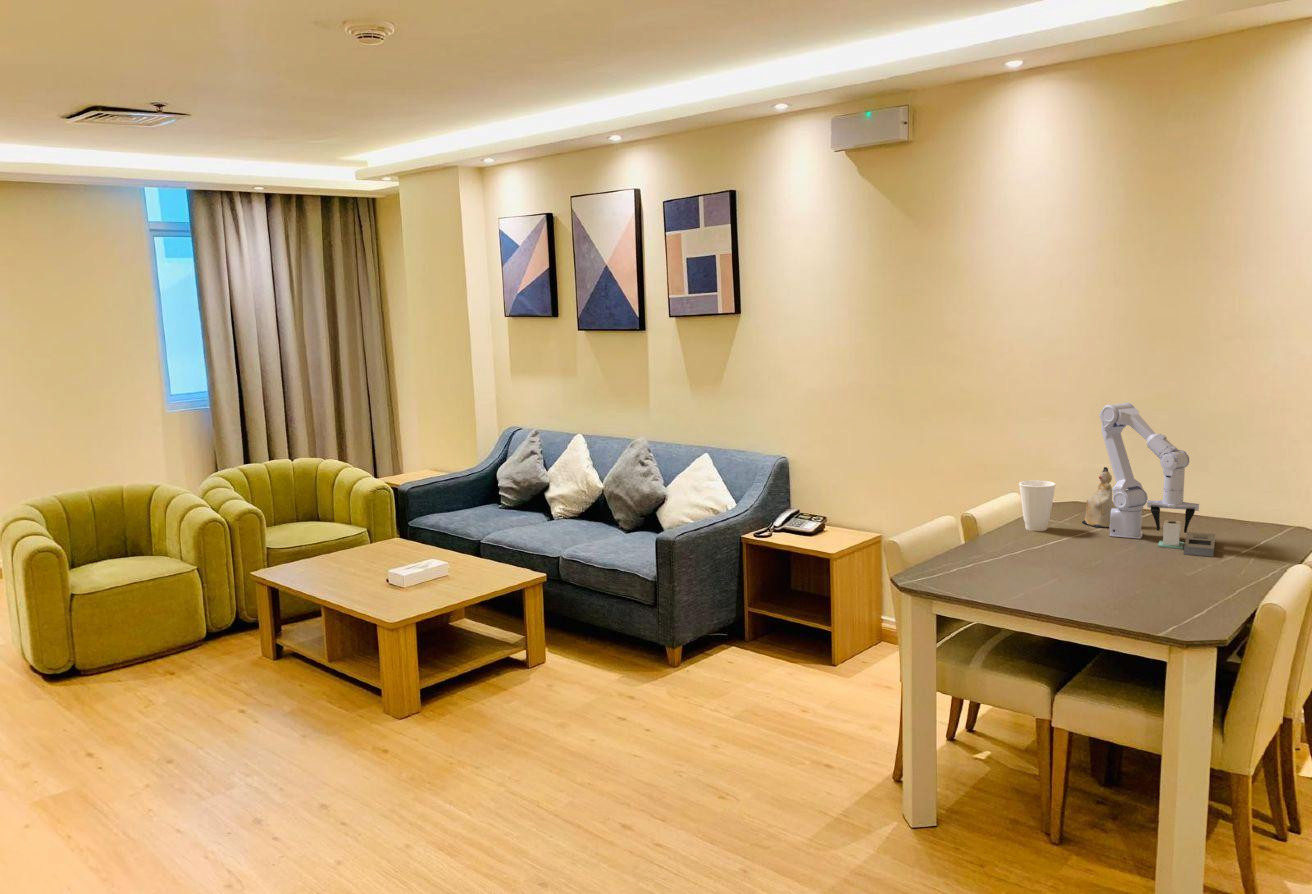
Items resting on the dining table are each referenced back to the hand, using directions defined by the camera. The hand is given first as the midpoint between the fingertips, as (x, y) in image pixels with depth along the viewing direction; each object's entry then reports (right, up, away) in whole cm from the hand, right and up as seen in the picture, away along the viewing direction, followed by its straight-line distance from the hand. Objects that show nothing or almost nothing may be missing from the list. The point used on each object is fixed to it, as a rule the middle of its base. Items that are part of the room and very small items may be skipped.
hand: (1171, 531), depth 317 cm
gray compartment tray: (+7, -5, -3) cm, 9 cm away
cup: (-32, -2, +29) cm, 43 cm away
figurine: (-8, -1, +32) cm, 33 cm away
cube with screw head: (0, -4, +1) cm, 4 cm away
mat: (0, -5, +1) cm, 5 cm away
